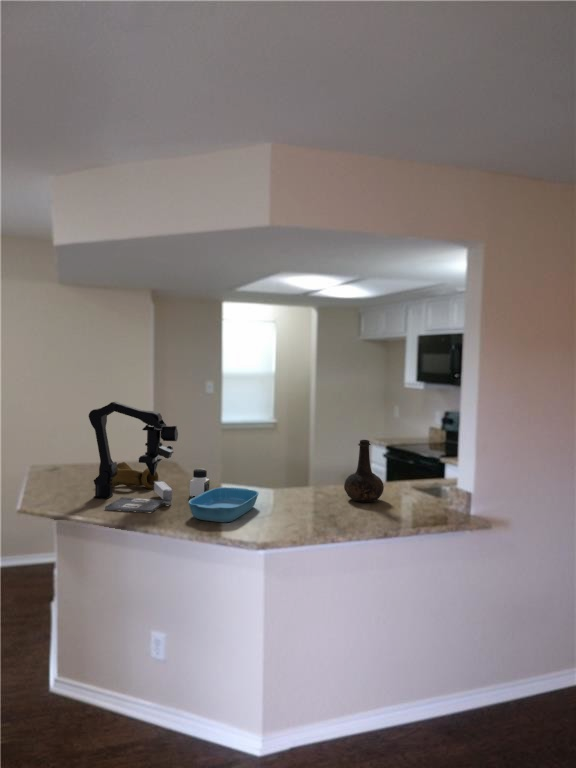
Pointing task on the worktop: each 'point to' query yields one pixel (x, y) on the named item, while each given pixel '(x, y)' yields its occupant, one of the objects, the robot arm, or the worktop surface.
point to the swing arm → (163, 490)
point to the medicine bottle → (199, 482)
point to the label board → (136, 504)
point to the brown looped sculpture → (133, 477)
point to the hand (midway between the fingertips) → (153, 475)
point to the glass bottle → (364, 478)
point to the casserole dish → (223, 503)
